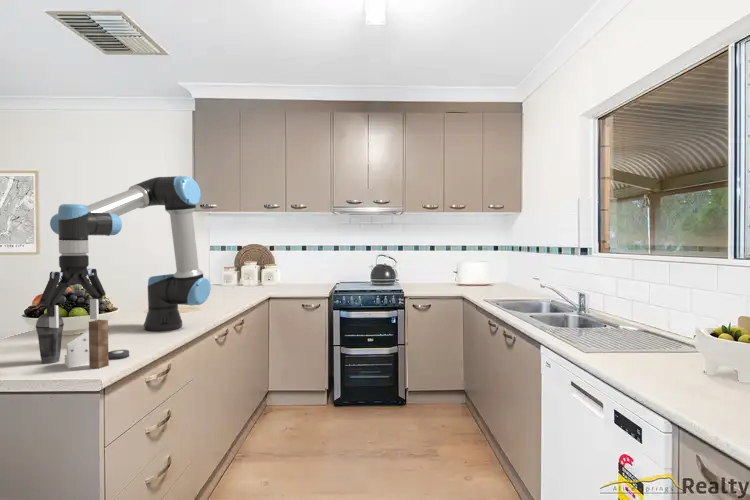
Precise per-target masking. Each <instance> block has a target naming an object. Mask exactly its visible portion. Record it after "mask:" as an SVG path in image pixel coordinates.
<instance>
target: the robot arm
mask: <svg viewBox="0 0 750 500" xmlns="http://www.w3.org/2000/svg"><path fill="white" fill-rule="evenodd" d="M201 193H202V192H201V189H200V186H199V184H198V182H196V181H195V179H194V178H193V177H190V176H186V175H185V176H184V175H183V176H182V175H178V176H175V175H174V176H155V177H153V178H149V179H146V180H144V181H141V182H139V183H135V184H134V185H131V186H129V188H128V189H127V190H125V191H122V192H120V193H117V194H114V195H112V196H109V197H106V198H104V199H101V200H99V201H95V202H94V203H91V204H88V205H87V204H86V205H85V204H77V203H76V204H75V203H63V204H60V205H59V206H58V210H57V213H55V214H54V215H52V217H51V218H50V221H49V226H50V229H51V230H52V231H53V232H54V233H55V234H56V235H58V253H59V254H60V255H59V256H58V266H59V268H60V271H50V272H49V278H48V281H47V284H46V286H45V288H44V290H43V292H42V295H41V297H40V299H39V302H38V303H39V304H40V305H44V306H46V313H47V317H49V327H50V328H59V315H60V314H59V312H60V311H59V305H57V303H58V301H59V300H60V299H61V298H62V296H63V294H65V292H66V290H67V289H68V288H70V286H75V285H80V286H81V287H82V288H83V289H84V290H85V292H87V293H88V295H89V296H90V297H91V298H89V319H90V320H100V317H99V314H100V313H99V309H100V307H101V299H103V297H104V296H106V295H107V294H106V291H105V289H104V287H103V284H102V283H101V281H100V279H99V276H98V273H97V272H98V270H97V269H96V268H88V267H89V255H88V254H89V236H107V237H109V236H115V235H118V234H119V233H120V232H121V231H122V226H123V221H122V218H121V217H120V216H122V215H124V214H126V213H130V212H132V211H134V210H136V209H145V208H148V207H151V206H164V210H165V212H167V213H168V214H169V219H170V226H171V227H170V228H171V234H172V242H173V250H174V259H175V268H176V271H175V273H169V274H162V275H154V276H150V277H149V278H148V281H147V305H148V307H147V313H146V315H145V316H146V317H145V321H144V323H143V330H145V331H147V332H148V331H150V332H163V331H172V330H177V329H181V328H182V327H183V320H182V317H181V314H180V311H179V305H182V306H183V305H184V306H185V305H186V306H190V307H191V306H200V305H203V304H204V303H205V302H206V301H208V298H209V296H210V293H211V288H212V287H211V282H210V280H209V279H208V278H207V277H204V273H203V271H202V269H200V268H199V259H198V250H197V242H196V241H197V240H196V232H195V223H194V222H195V221H194V216H193V214H194V211H196V209H197V207H196V205H198V203H200V199H201ZM56 274H57V275H56Z"/></svg>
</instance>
